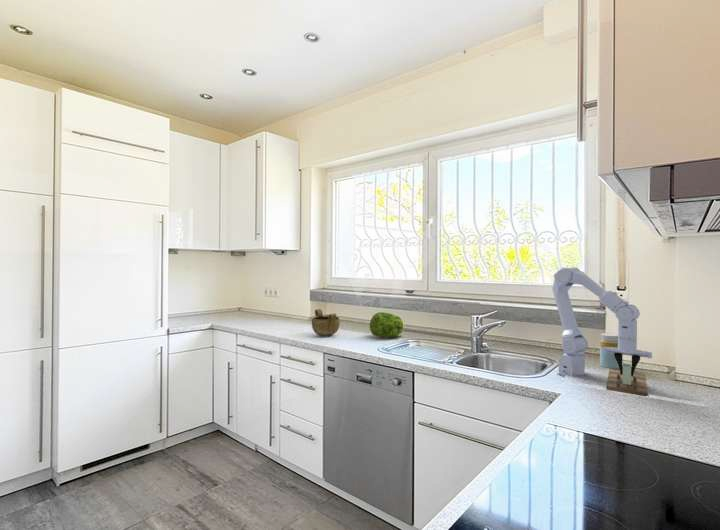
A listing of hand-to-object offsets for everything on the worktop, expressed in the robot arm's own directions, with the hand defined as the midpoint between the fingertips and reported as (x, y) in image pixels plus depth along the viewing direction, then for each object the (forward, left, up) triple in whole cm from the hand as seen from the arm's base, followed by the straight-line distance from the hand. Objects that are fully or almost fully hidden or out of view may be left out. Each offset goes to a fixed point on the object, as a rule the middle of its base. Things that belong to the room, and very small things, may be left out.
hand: (626, 374), depth 141 cm
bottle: (+18, +18, -5) cm, 26 cm away
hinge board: (+5, +3, -5) cm, 8 cm away
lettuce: (-39, +114, -5) cm, 121 cm away
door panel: (0, 0, -2) cm, 2 cm away
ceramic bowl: (-72, +133, -5) cm, 151 cm away
